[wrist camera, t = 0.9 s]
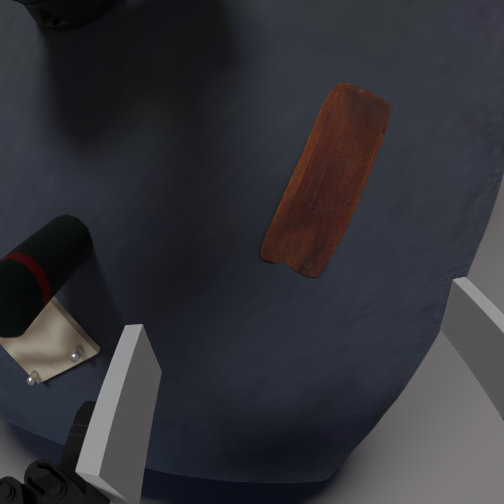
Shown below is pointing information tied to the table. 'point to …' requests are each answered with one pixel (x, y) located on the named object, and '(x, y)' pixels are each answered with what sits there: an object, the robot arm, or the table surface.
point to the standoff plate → (50, 344)
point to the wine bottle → (39, 271)
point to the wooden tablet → (327, 180)
